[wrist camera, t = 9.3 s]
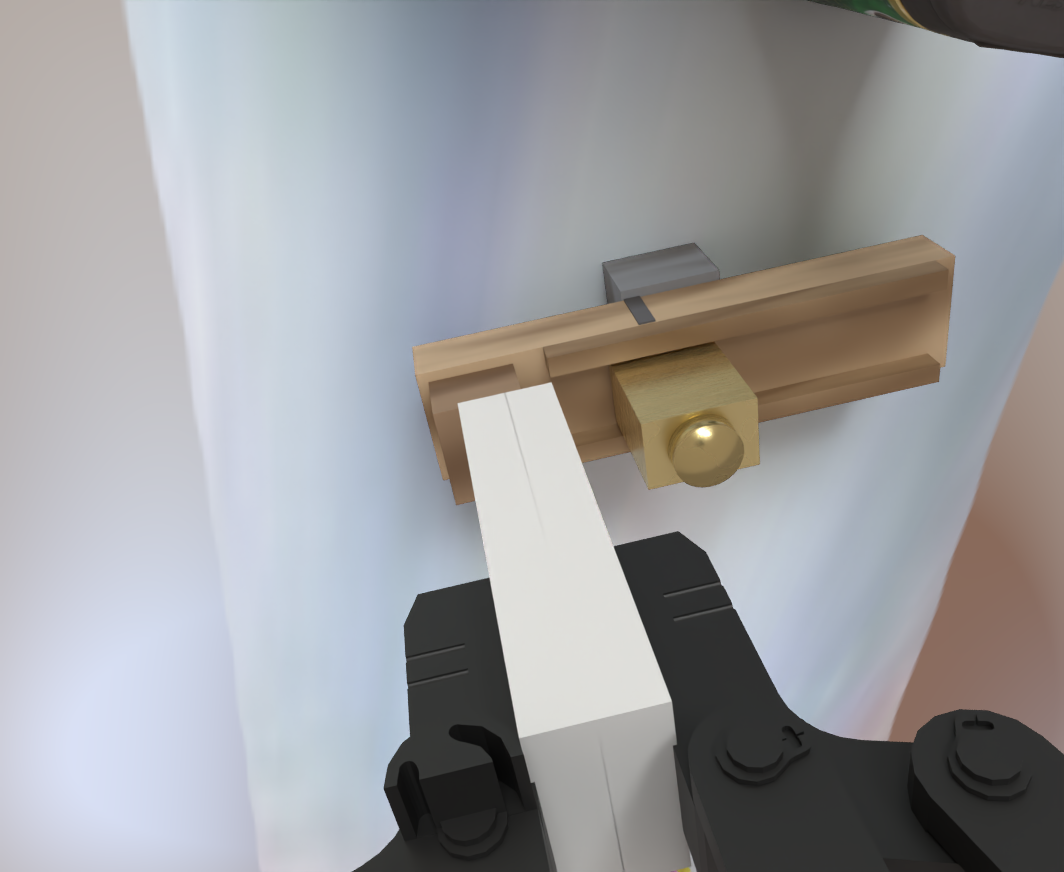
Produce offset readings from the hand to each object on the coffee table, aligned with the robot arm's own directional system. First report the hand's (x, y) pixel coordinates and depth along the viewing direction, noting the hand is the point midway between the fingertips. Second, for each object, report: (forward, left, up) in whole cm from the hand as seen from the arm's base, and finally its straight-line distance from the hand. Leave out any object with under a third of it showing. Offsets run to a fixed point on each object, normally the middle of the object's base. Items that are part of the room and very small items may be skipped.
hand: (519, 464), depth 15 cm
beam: (+14, +10, -32) cm, 37 cm away
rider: (+14, +8, -25) cm, 30 cm away
